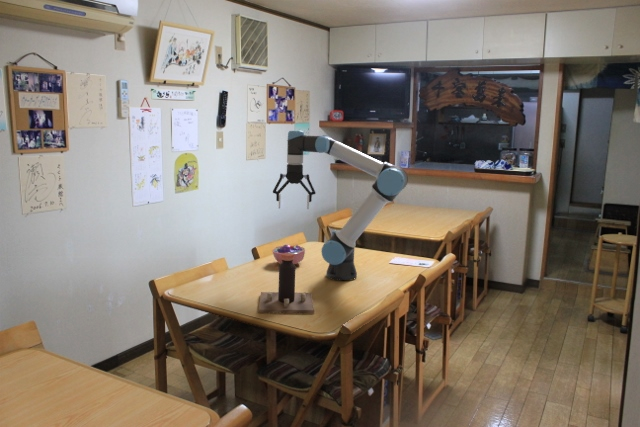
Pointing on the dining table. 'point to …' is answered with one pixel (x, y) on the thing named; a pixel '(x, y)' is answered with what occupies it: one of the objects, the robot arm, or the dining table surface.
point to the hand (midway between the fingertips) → (293, 208)
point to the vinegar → (286, 278)
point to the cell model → (294, 250)
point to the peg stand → (285, 303)
